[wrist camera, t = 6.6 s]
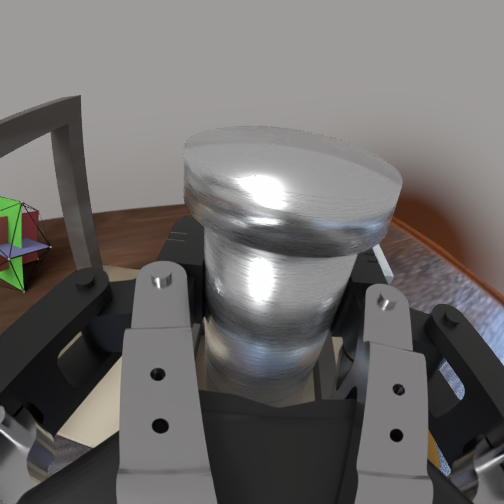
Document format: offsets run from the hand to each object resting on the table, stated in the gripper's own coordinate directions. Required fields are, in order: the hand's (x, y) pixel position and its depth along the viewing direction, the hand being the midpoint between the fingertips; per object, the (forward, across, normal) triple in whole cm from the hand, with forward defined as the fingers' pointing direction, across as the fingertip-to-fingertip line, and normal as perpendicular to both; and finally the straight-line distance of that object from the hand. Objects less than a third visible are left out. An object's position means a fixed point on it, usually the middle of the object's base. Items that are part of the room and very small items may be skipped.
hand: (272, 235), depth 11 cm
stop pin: (-3, 0, +6) cm, 7 cm away
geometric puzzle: (+4, +19, +9) cm, 21 cm away
